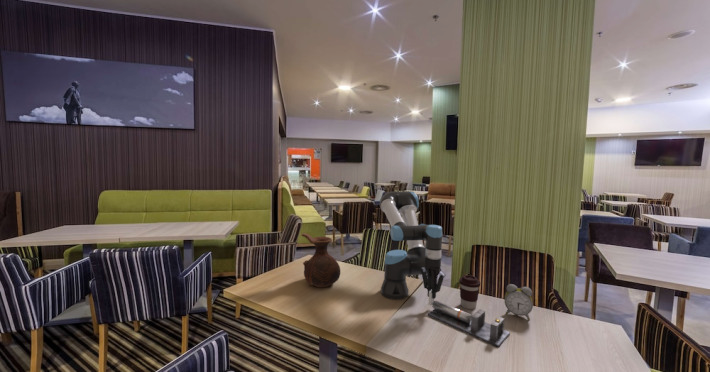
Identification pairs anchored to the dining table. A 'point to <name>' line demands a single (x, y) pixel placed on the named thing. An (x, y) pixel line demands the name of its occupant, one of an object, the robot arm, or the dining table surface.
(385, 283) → the robot arm
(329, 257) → the jug
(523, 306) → the alarm clock
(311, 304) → the dining table surface
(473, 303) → the coffee cup
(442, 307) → the tube
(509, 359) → the dining table surface
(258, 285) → the dining table surface
